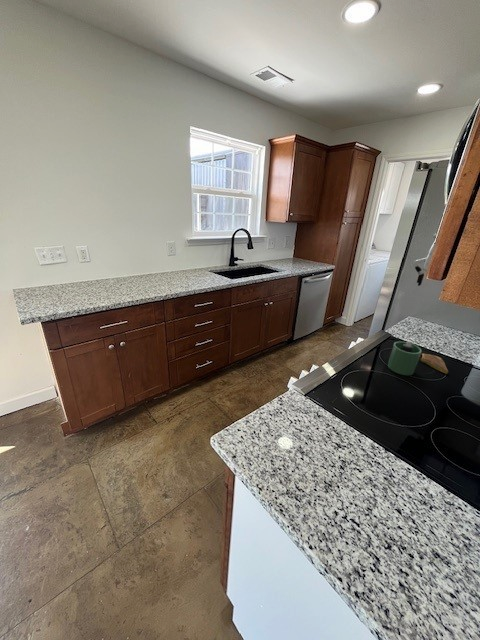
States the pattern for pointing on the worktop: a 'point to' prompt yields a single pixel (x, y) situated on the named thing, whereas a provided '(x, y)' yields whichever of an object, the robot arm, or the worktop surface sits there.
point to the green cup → (404, 359)
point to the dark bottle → (408, 346)
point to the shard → (434, 362)
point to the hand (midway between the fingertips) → (434, 287)
